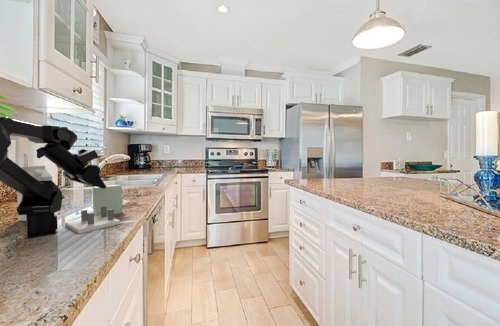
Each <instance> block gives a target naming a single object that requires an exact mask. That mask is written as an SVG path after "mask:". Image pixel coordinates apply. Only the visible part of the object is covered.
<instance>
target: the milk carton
mask: <svg viewBox="0 0 500 326" xmlns="http://www.w3.org/2000/svg"><path fill="white" fill-rule="evenodd" d="M21 168H22V169H23V170H25V171H26V172H27V173H29V174H30V175H31V176H33V177H34V178H35V179H37V180H38V181H46V180H51V181H53V176H52V174H51V173H50V172H49V171H48V170H47V169H46V165H32V166H22V167H21ZM16 198H17V200H16V202H17V207H18V206H19V204H20V203H21V201H22V194H21V193H19V192H18V191H16ZM43 207H49V206H43ZM17 217H18V221H24V222H27V219H26V215H18V214H17Z"/></svg>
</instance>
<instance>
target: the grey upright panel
mask: <svg viewBox="0 0 500 326" xmlns="http://www.w3.org/2000/svg"><path fill="white" fill-rule="evenodd" d="M122 194H123V189H122V185H121V184H108V185H106V188H105V189H103V188H99V187H96V186H94V187H93V186H92V201H93V202H92V203H93V207H92V208H93V213H94V216H99V215H101V207H107V216H108V209H114V215H117V214H122V213H123V197H122V196H123V195H122Z"/></svg>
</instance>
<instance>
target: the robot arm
mask: <svg viewBox="0 0 500 326" xmlns="http://www.w3.org/2000/svg"><path fill="white" fill-rule="evenodd" d="M12 136H13V137H19V138H24V139H25V138H26V139H27V140H28V141H29V142H32V143H33V144H45V145H44V146H40V147H39V148H36V150H35V151H36V158H37V159H42V158H43V157H44V158H46V159H48V160H49V161H50V162H52V163H53V164H54V165H55V166H56V167H57V169H61V170H62V171H63V172H62V176H63V177H64V178H65V179H66V180H69V181H72V182H76V183H80V184H84V185H85V186H86V185H87V186H89V187H92V188H93V187H99V188H103V189H105V188H106V186H107V185H106V183H105V182H104V181H103V179H102V178H101V177H100V173H101V168H100V167H99V166H98V165H97V164H89V162H92V161H93V160H95V159H99V158H100V156H99V155H98V153H97V151H96V149H84V148H82V149H79V150H78V154H76V153H72V152H71V151H70V150H71V149H72V147H73V146H74V145H75V143H76V142H77V140H78V135H77V134H76V133H75V131H72V130H70V129H69V128H68V127H67V126H60V125H58V124H34V123H30V122H25V121H21V120H17V119H12V118H11V117H8V116H0V181H1V182H2V183H3V184H5V185H6V186H8V187H10V188H11V189H13V190H15V191H16V192H17V191H18V192H19V193H21V194H22V201H21V203H20V204H19V206H18V205H17V208H16V213H17V216H18V215H26V219H27V221H26V238H27V239H29V238H34V237H40V236H41V237H42V236H46V235H51V234H56V233H57V230H58V228H59V227H58V216H57V214H55V213H57V212H60V211H61V210H62V203H63V198H64V197H63V192H62V191H61V189H60V188H59V185H57V184H56V183H55V182H54V181H53V180H52V181H51V180H46V181H38V180H37V179H35V178H34V177H33V176H31V175H30V174H29V173H27V172H26V171H25V170H23V169H22V167H21V166H20V165H18V164H17V163H15V161H13V160H12V159H11V158H9V157H8V154H9V153H8V152H9V149H8V148H10V146H11V145H12V140H11V137H12ZM43 206H49V207H43Z"/></svg>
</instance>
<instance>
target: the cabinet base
mask: <svg viewBox="0 0 500 326" xmlns="http://www.w3.org/2000/svg"><path fill="white" fill-rule="evenodd" d="M116 225H121V220H120V219H117V218H115V214H114V209H108V216H107V207H101V215H99V216H94V211H93V212H88V210H87V209H83V210H80V218H79V219H76V220H75V219H74V220H70V221H65V222H64V226H65V227H66V228H67V229H70V230H72V231H74V232H75V233H77V234H78V233H79V234H82V233H81V232H83V233H87V231H88V232H91V230H92V231H96V230H99V229H103V228H109V227H112V226H116Z"/></svg>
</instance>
